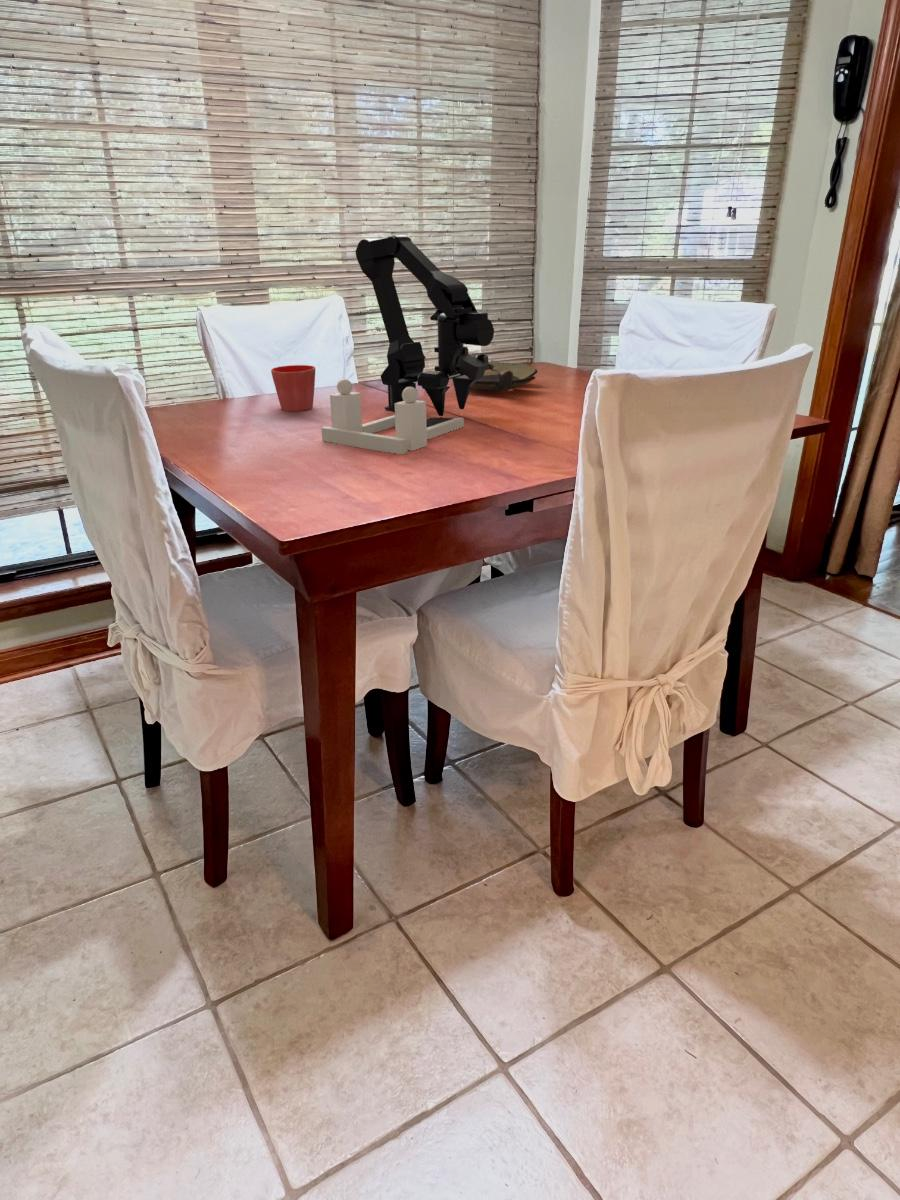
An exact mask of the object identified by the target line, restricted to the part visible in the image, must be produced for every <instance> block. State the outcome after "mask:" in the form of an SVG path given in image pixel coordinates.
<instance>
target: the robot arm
mask: <svg viewBox="0 0 900 1200" xmlns="http://www.w3.org/2000/svg"><path fill="white" fill-rule="evenodd" d="M355 257H356V259H357V263H358V264H359V267H360V270H361V271H362V273H363V274H364V275H365V277H367V279H369V280H370V282H371V284H372V287H373V290H374V295H375V299H376V300H377V301H376V302H377V304H378V308H379V311H380V315H381V318H382V322H383V324H384V328H385V331H386V332H385V333H386V335H387V338H388V343H389V344H388V349H387V353H386V358H387V364H388V365H387V366H386V367H385V369H384V370H383V372H382V373H381V374H380V379H381V382H382V385H385V386H387V397H388V400H387V401H388V406H384V410H389V411H394V412H395V403H398V402H402V401H404V400H403V398H402V392H403V390H404V389H405V388H407V387H413V388H415V389H416V390H417V386H418V387H421V388H422V389H424V390H425V392H426V394H427V396H428V397H429V399H430V401H431V403H432V405H433V407H434V409H435V411H436V413H437V415H438V416H439V417H443V416H445V415H444V413H445V402H446V393H447V392H448V390H450V388H451V386H449V382H450V380H451V379H452V383H453V387H454V392H455V397H456V401H457V405H458V409H459V410H464V409H465V407H466V403H467V400H468V396H469V393H470V391H471V388H472V387H473V386H472V385H473V384H474V383H475V382H476V381H477V380H479V378H483V376H484V373H485V370H488V371H489V370H490V369H489V366H488V364H489V363H490V361H489V355H487V354H485V353H480V354H478V355H477V356H476V355H471V354H469V348H468V346H469V345H470V346H480V347H488V346H489V345H490V344H491V343H492V341H493V338H494V336H495V335H494V334H495V328H494V325H493V322H492V320H490V319H489V314H488V313H489V312H478V310H477V308H476V306H475V304H474V302H473V301H472V298H471V297H470V294H469V293H468V292H469V290H468V287H467V286H466V285H465V283H463V282H462V281H460V280H459V279H458V278H456V277H454V276H451V275H449V274H447V273H445V272H443V271H442V270H441V269H439V268H438V267H437V266H436V265H435V264H434V263H433V261H431V259H430V258H428V257H427V256H426V255H425V254H424V252H423V251H422V250H421V249H420V248H418V246H417V245H415V243H414V242H413V240H412V239H411V237H410V236H409V235H407V234H399V235H398V234H397V235H395V234H394V235H390V236H388V237H384V238H365V239H364V238H363V239H361V240H360V241H359V242H358V244H357V245H356V249H355ZM395 259H397V260H398V261H399V262H400V263H401V264H402V265H403V266H404V267H405V268H406V269H407V270H408V271H409V272H410V273H411V274H412V276H414V277H415V278H416V280H418V281H419V282H420V284H421V285H423V287H424V288H425V289H426V294H427V298H428V299H429V301H430V302H431V304H432V305H433V306H434V307H435V309H436V310H435V312H434V313H433V314H432V315H431V316H430V317H429V320H430V321H433V322H434V321H436V322H437V346H436V347H434V348H433V350H434V353H437V357H438V358H437V359H438V362H437V363H438V364H437V365H434V370H426V371H424V369H425V368H426V363H425V360H426V356H425V355H424V351H423V345H422V343H421V342H420V341H416V342H415V341H414V340H413V339H412V338H411V337H410V334H409V333H410V332H409V330H408V327H407V323H406V320H405V316H404V313H403V310H402V306H401V303H400V299H399V295H398V292H397V289H396V286H395V281H394V278H393V272H394V268H395V264H396V261H395ZM464 345H468V346H464ZM416 384H417V385H416Z"/></svg>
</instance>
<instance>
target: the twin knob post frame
mask: <svg viewBox="0 0 900 1200" xmlns="http://www.w3.org/2000/svg"><path fill="white" fill-rule="evenodd" d="M336 390H337V391H338V392H336V393H332V394H329V402H330V403H329V404H330V414H331V417H330V418H331V426H323V427H321V441H322V442H325V441H326V442H325V443H330V442H332V443H331V444H336V443H337V445H344V446H349V447H354V448H355V447H356V448H361V449H365V450H366V449H367V450H372V451H377V452H384V453H389V452H390V454H394V453H396V455H400V454H401V456H402V454H403V455H405V453H406V454H408V450H411V451H410V452H413V450H414V451H417V450H420V449H422V448H421V447H423V448H425V447H427V446H428V440H427V439H429V440H431V439H434V438H436V436H437V437H440V436H442V434H443V435H445V434H444V433H446V434H449V433H451V432H454V431H457V430H460V429H462V427H463V428H465V418H464V417H454V419H451V420H448V421H445V422H442V423H439V424H436V425H433V426H430V427H427V426H426V419H427V401H426V400H419V399H418V398H419V392H418V389H417V388H416V389H415V388H413V387H407V388H405V389H404V390H403V392H402V398H403V400H404V401H402V402H398V403H395V411H394V414H393V415H389V416H387V417H383V418H379V419H376V420H373V421H369V422H365V423H363V418H362V417H363V416H362V401H361V400H362V398H361V392H356V391H353V383H352V382H351V381H350V380H349V379H346V378H342V379H340V380H339V381H338V382H337V385H336ZM393 427H394V428H395V436H390V435H383V434H377V433H378V432H381V431H384V430H388V429H391V428H393ZM459 428H460V429H459ZM456 429H457V430H456ZM453 430H454V431H453ZM450 431H451V432H450ZM448 432H449V433H448ZM439 435H440V436H439ZM433 437H434V438H433ZM430 438H431V439H430ZM424 446H425V447H424ZM419 448H420V449H419ZM416 449H417V450H416Z"/></svg>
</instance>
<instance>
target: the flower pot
mask: <svg viewBox="0 0 900 1200" xmlns="http://www.w3.org/2000/svg"><path fill="white" fill-rule="evenodd" d="M270 371H271V372H270V373H271V377H272V380H273V385H274V387H275V391H276V395H277V399H278V402H279V407H280V409H281V410H282V411H284V410H285V411H284V412H302V411H307V410H311V409H313V407H314V399H315V398H314V397H315V385H316V384H315V383H316V366H314V365H309V364H307V365H306V364H295V365H294V364H293V365H282V366H276V367H273V368H271V370H270Z"/></svg>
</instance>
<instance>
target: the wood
mask: <svg viewBox="0 0 900 1200" xmlns="http://www.w3.org/2000/svg"><path fill="white" fill-rule="evenodd" d="M454 418H455V417H454ZM454 418H453V417H450V418H449V417H443V416H439V417H429V418H426V426H427V427H430V426H433V425H436V424H439V423H442V422H445V421H448V420H451V419H454Z"/></svg>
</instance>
